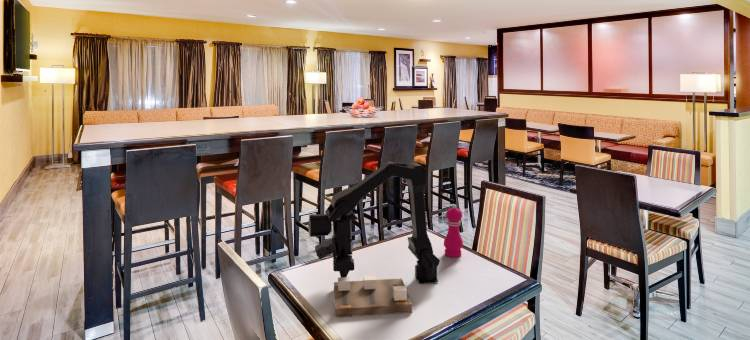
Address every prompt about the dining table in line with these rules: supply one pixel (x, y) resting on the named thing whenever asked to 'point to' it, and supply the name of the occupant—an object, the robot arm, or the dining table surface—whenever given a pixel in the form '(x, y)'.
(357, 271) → the dining table surface
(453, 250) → the pepper mill
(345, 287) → the tab
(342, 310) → the switch board
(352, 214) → the robot arm
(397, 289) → the tab
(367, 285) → the tab
